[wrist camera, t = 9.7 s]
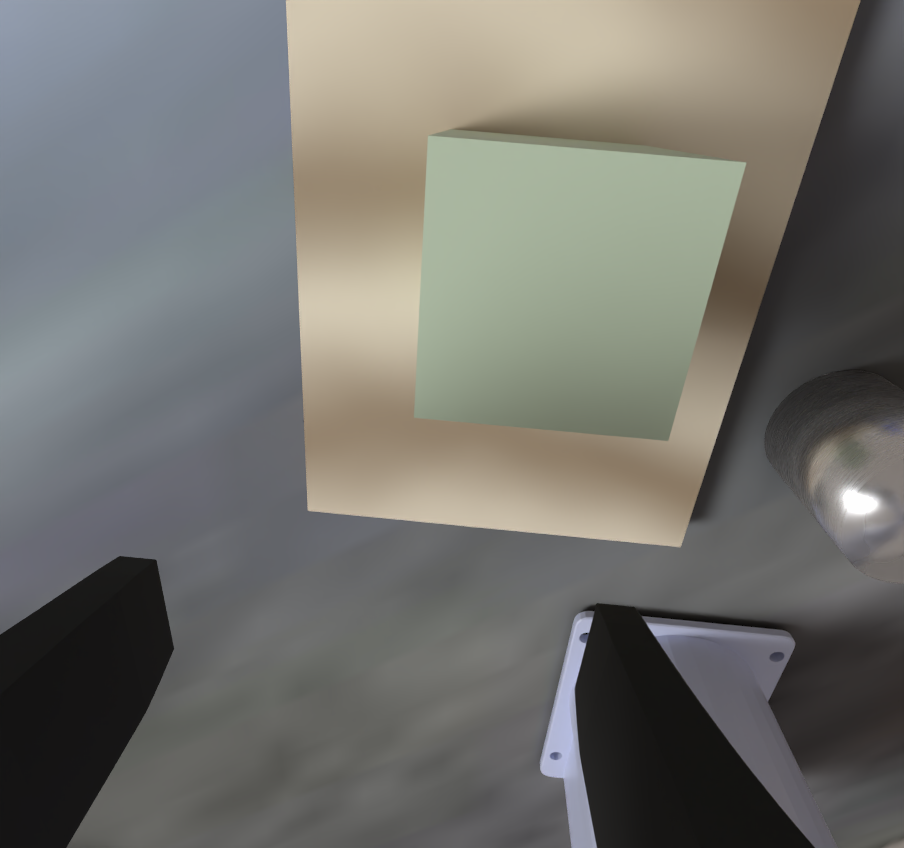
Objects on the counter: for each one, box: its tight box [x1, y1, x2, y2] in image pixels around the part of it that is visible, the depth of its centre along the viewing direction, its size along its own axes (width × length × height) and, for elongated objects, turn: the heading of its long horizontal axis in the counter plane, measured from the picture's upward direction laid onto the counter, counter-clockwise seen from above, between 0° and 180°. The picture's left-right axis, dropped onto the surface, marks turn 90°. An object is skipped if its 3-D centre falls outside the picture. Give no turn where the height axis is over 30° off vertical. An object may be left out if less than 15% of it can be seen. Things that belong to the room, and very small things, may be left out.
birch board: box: [286, 0, 861, 547], centre depth 15 cm, size 18×12×1 cm, turn 176°
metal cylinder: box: [765, 370, 904, 583], centre depth 16 cm, size 4×4×4 cm
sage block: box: [414, 129, 746, 441], centre depth 12 cm, size 4×4×6 cm
